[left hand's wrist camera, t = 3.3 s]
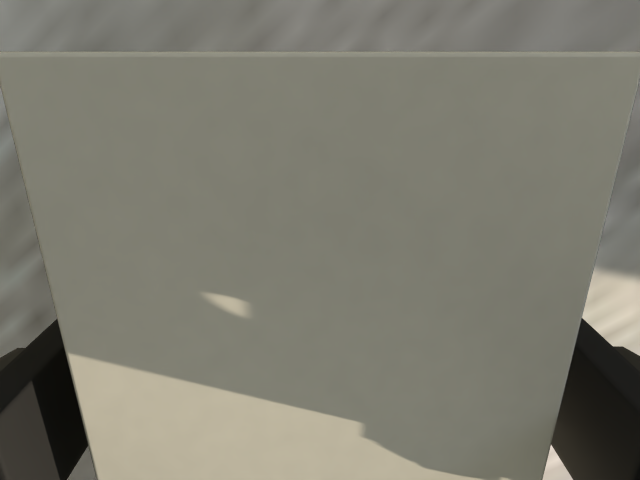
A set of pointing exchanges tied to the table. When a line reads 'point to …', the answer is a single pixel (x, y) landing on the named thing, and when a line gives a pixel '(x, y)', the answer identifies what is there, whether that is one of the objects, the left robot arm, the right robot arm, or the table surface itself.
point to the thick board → (319, 252)
